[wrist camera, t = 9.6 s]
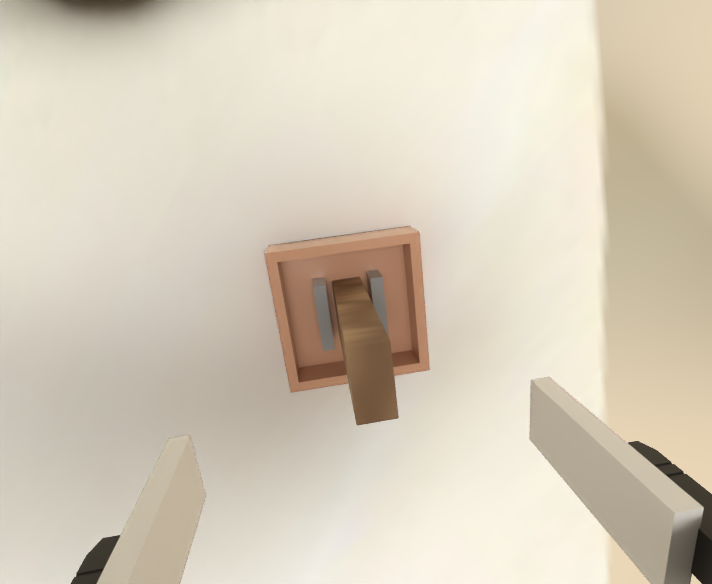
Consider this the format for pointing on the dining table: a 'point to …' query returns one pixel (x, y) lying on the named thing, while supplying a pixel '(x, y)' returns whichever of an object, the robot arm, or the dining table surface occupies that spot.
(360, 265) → the square slotted tray
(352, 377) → the tapered wooden plank
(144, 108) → the dining table surface
